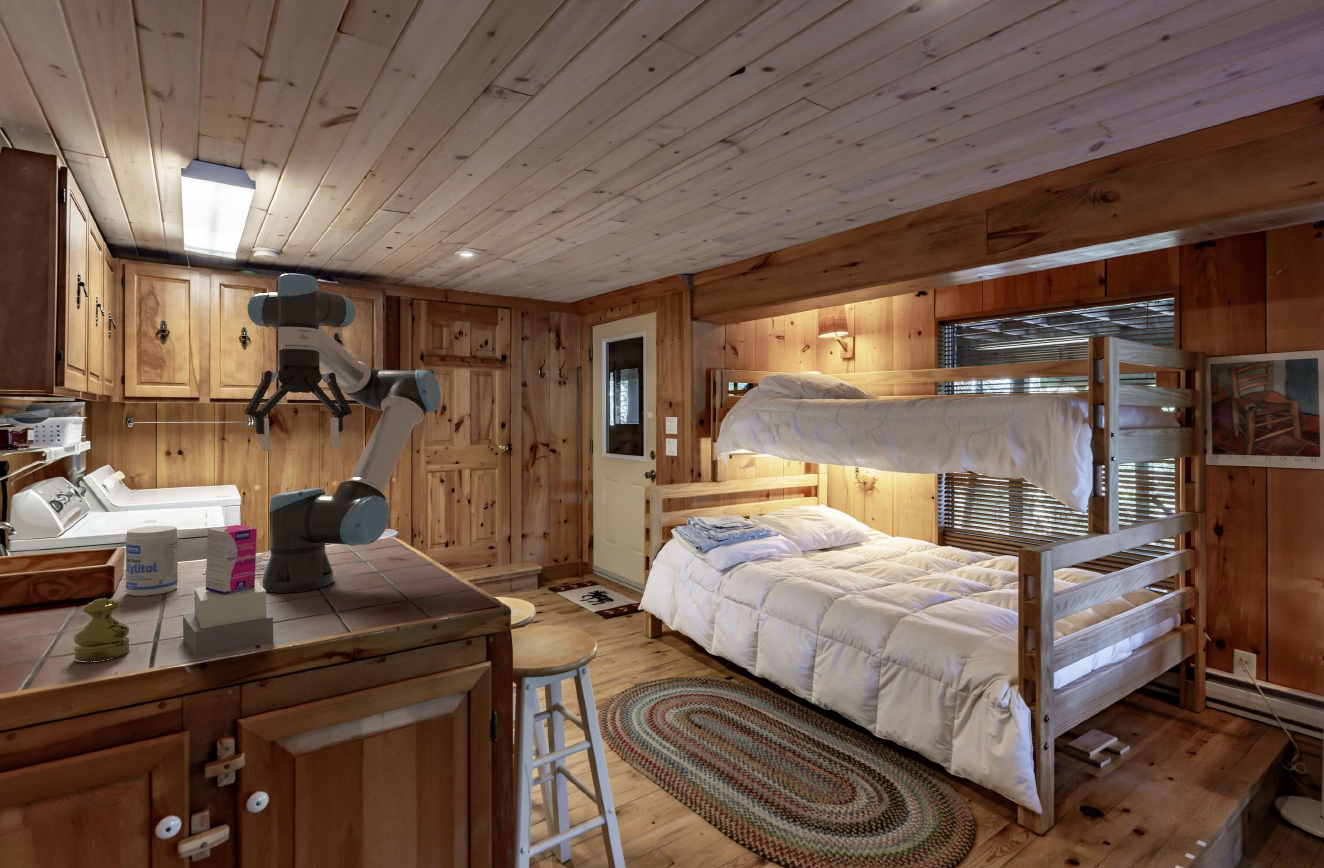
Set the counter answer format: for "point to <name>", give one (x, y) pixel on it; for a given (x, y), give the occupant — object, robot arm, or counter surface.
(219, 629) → the tower base
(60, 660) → the counter surface
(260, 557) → the tangled rod sculpture
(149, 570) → the supplement tub
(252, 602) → the tower top
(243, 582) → the supplement box
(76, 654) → the olive coiled snake figurine
